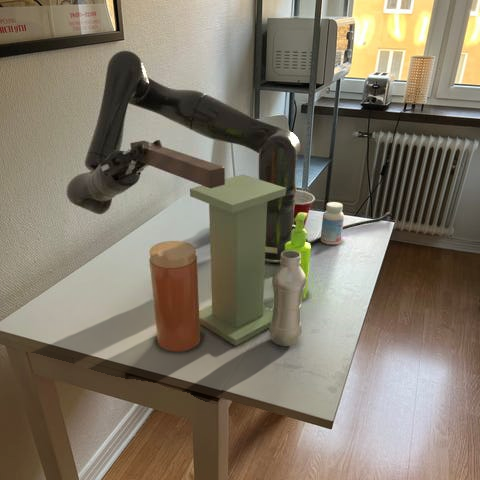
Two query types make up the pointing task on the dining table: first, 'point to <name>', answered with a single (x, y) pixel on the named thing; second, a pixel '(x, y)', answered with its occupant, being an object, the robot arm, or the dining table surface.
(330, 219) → the pill bottle
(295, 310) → the plastic bottle
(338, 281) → the dining table surface
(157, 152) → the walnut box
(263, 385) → the dining table surface
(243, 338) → the plant stand
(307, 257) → the soap dispenser
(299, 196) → the plastic cup
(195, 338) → the terracotta jar
